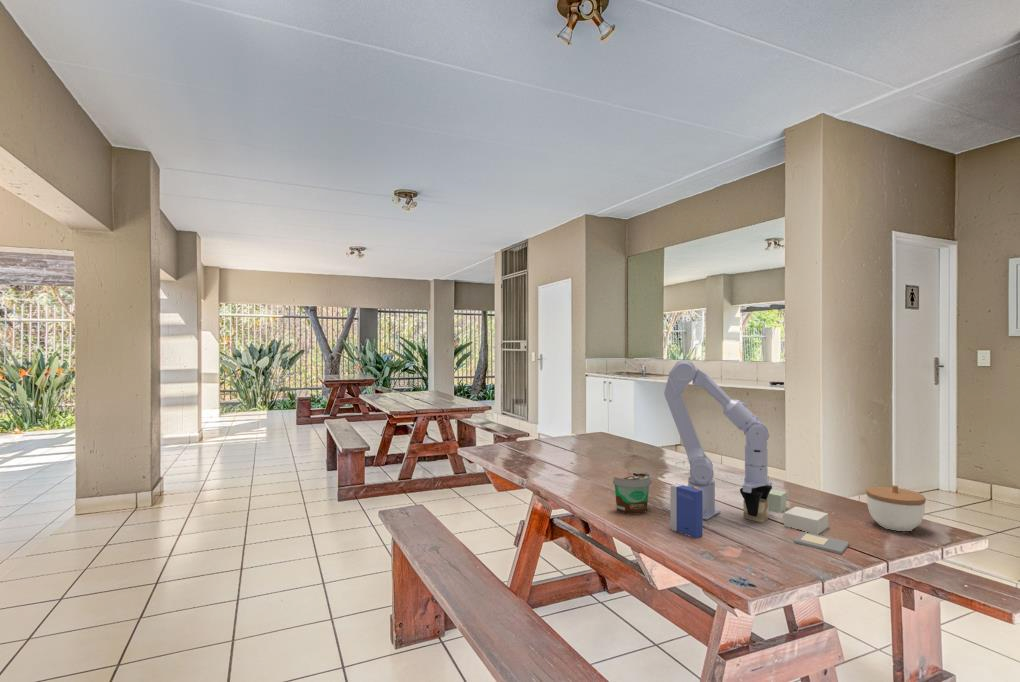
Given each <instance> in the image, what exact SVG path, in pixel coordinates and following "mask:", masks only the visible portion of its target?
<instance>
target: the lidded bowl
mask: <svg viewBox="0 0 1020 682" xmlns="http://www.w3.org/2000/svg"><path fill="white" fill-rule="evenodd" d="M891 486H892V487H891ZM891 486H871V487H867V488H866V490H865V491H866V504H867V508H868V512H869V514H870V516H871V517H872V519H873V521H875V522H876V523H877V524H878V526H879V525H880V526H882V527H884V528H888V529H894V530H899V531H911V532H913V530H914V529H915V528H917V527H918V526H919V525H920V524H921V523H922V521H923V519H924V517H925V511H926V510H925V509H926V508H925V507H926V497H925V495H923V494H922V493H919V492H917V491H913V490H908V489H905V488H900V487H899V485H894V484H892V485H891ZM880 526H879V527H880ZM882 527H881V528H882ZM884 528H883V529H884Z"/></svg>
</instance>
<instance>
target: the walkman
mask: <svg viewBox="0 0 1020 682" xmlns="http://www.w3.org/2000/svg"><path fill="white" fill-rule="evenodd" d="M669 507H670V510H669V512H670V517H669V518H670V519H669V520H670V521H669V524H670V525H669V526H670V530H671V529H673V530H676V531H679V532H682V533H684V534H683V535H685V534H687V535H686V536H688V535H690V536H689V537H691V536H692V537H691V538H693V539H698V538H701V537H703V519H702V490H699V488H696V487H693V488H692V487H688V485H683V484H680V483H675V484H671V485H670V506H669ZM673 530H672V531H673ZM676 531H675V532H676ZM679 532H678V533H679ZM682 533H681V534H682Z"/></svg>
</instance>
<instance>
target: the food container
mask: <svg viewBox="0 0 1020 682" xmlns="http://www.w3.org/2000/svg"><path fill="white" fill-rule="evenodd" d="M652 482H653V481H652V478H651V475H650V474H649V473H647V472H645V474H644V475H640V476H632V475H631V476H626V477H624V478H620V477H616V476H614V477H613V480H612V485H614V490H615V491H614V492H615V502H616V503H615V504H616V505H615V506H616V511H618V512H619V511H620V512H619V513H623V512H624V513H623V514H628V513H630V515H637V514H636V513H641V514H644V513H646V512H647V511H648V503H649V501H648V500H649V491H650V490H649V489H650V486H651V485H652ZM645 511H646V512H645ZM643 512H644V513H643Z"/></svg>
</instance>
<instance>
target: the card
mask: <svg viewBox="0 0 1020 682" xmlns="http://www.w3.org/2000/svg"><path fill="white" fill-rule="evenodd" d="M794 542H795V543H794ZM793 543H794V544H797V543H798V545H801V546H805V547H810V548H814V549H818V550H822V551H826V552H830V553H833V554H834V553H835V554H839V555H842V554H843V553H844V552H845V550H846V549H847V548H848V547H849V546H850V541H845V540H841V539H838V538H833V537H829V536H824V535H821V534H818V535H816V534H812V533H807V532H803V531H802V533H800V534H799V535H798V536H797V537H796V538H795V539H794V540H793Z"/></svg>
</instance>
